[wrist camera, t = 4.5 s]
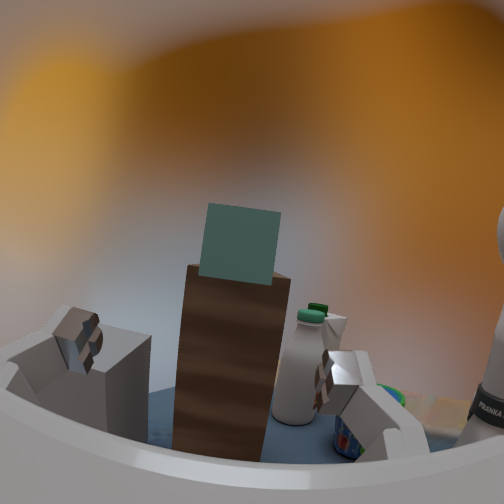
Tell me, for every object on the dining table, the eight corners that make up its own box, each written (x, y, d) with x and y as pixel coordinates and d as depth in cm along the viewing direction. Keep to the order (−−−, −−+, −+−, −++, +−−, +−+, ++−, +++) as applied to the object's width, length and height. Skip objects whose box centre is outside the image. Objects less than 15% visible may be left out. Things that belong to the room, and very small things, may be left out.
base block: (115, 497, 22) (105, 372, 22) (39, 466, 22) (19, 343, 22) (147, 438, 36) (151, 335, 36) (86, 419, 36) (83, 319, 36)
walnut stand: (246, 517, 23) (290, 279, 24) (171, 507, 23) (187, 265, 24) (246, 444, 39) (273, 271, 40) (192, 436, 39) (211, 262, 40)
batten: (271, 285, 15) (281, 212, 15) (198, 275, 15) (208, 202, 15) (256, 269, 37) (260, 240, 37) (226, 265, 37) (231, 236, 37)
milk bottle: (303, 431, 45) (326, 317, 45) (263, 417, 49) (281, 308, 49) (319, 414, 51) (340, 312, 52) (282, 403, 55) (299, 305, 56)
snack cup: (327, 422, 48) (339, 372, 48) (382, 429, 45) (397, 379, 45) (317, 471, 33) (335, 410, 33) (390, 478, 30) (414, 418, 30)
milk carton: (279, 390, 62) (294, 300, 62) (307, 383, 67) (322, 301, 68) (309, 406, 55) (328, 308, 55) (336, 396, 60) (354, 308, 61)
